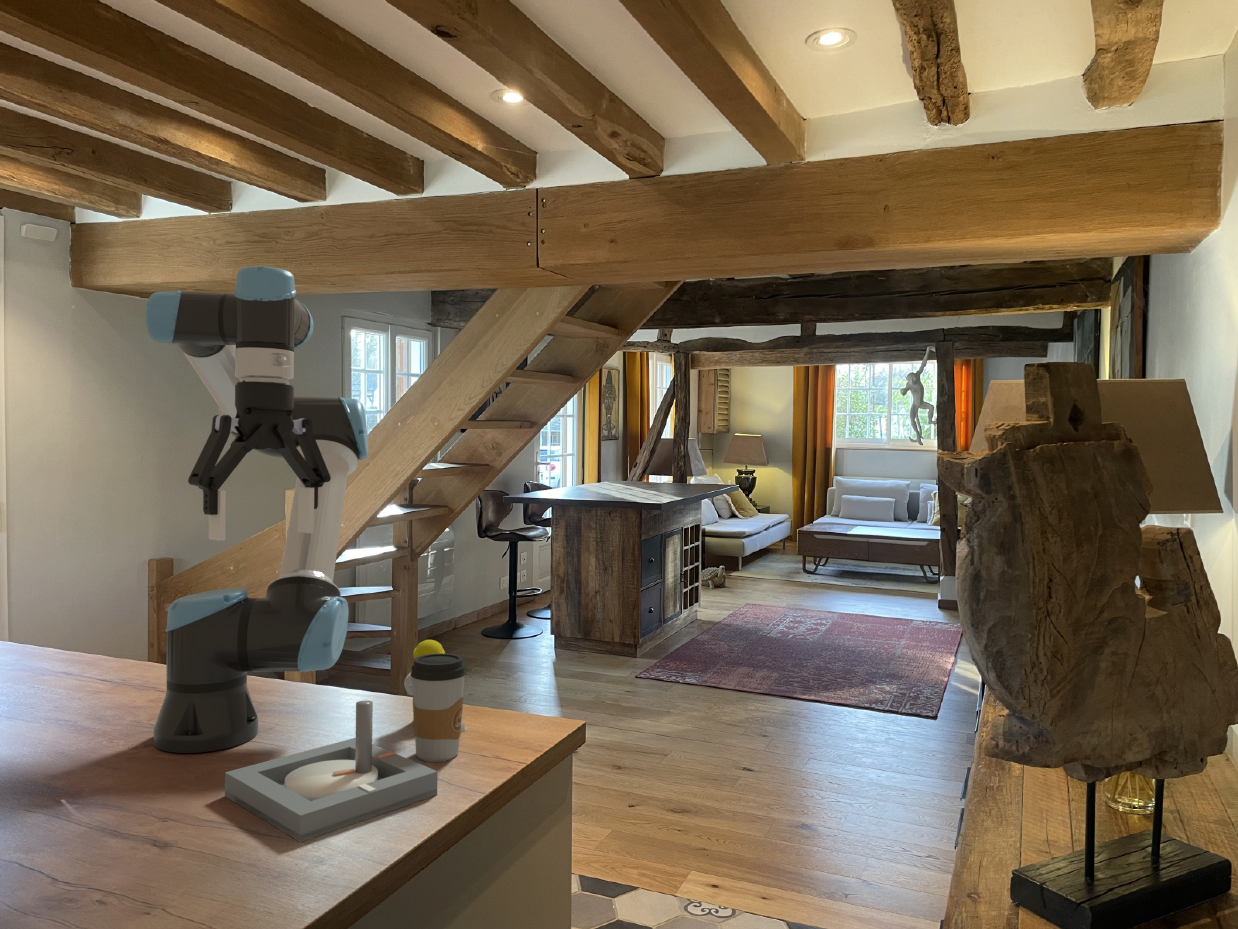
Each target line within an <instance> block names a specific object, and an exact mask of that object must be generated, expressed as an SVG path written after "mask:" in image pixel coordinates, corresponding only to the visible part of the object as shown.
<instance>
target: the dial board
mask: <svg viewBox="0 0 1238 929" xmlns="http://www.w3.org/2000/svg"><path fill="white" fill-rule="evenodd" d="M355 752H356V737H353V738H349V739H345V740H343V741H342V740H341V741H339V742H334V743H331V744H327V745H323V746H319V747H316V748H315V747H314V748H312V749H307V750H304V751H300V752H297V753H293V754H289V755H285V756H281V757H278V758H273V759H270V760H267V761H262V762H259V763H255V764H251V765H247V766H244V767H240V768H236V769H232V770H230V771H225V772H224V797H225V798H227V799H229V800H231V801H232V802H234V803H236V804H238V805H239V806H240V807H242V808H243V809H245V810H248V811H249V812H250V813H252V814H254V815H255V816H257V817H259V818H260V819H261V820H263V821H265V822H267V823H268V824H270V825H272V826H273V827H275V828H277V829H279V830H280V831H281V832H282V833H285V834H287V835H288V836H290V837H291V838H293V839H294V840H296V841H298V842H300V843H302V842H304V841H308V840H310V839H313V838H317V837H319V836H322V835H325V834H327V833H331V832H333V831H337V830H339V829H343V828H345V827H348V826H351V825H353V824H357V823H359V822H362V821H364V820H365V821H366V820H368V819H371V818H374V817H376V816H379V815H382V814H385V813H388V812H391V811H394V810H397V809H400V808H402V807H405V806H408V805H411V804H414V803H418V802H420V801H423V800H426V799H429V798H432V797H435V796H437V795H438V771H437V770H436V769H433V768H430V767H428V766H426V765H423V764H421V763H419V762H416V761H414V760H412V759H410V758H406V757H405V756H402V755H400V754H397V753H396V752H394V751H390V750H387V749H385V748H383V747H381V746H378V745H375V744H374V743H372V765H373V766H375V767H376V768H377V770H378V780H377V781H374V782H371V783H368V784H362V785H358V787H355V788H352V789H348V790H345V791H342V792H339V793H336V794H332V795H329V796H326V797H323V798H320V799H316V800H313V801H310V800H308V799H306V798H304V797H302V796H300V795H299V794H297V793H295V792H293V791H291V790H289V789H287V788H286V787H285V778H286V776H287V775H288V774H289V773H290V772H292V771H294V770H295V769H298V768H300V767H302V766H305V765H309V764H312V763H317V762H322V761H330V760H355Z"/></svg>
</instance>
